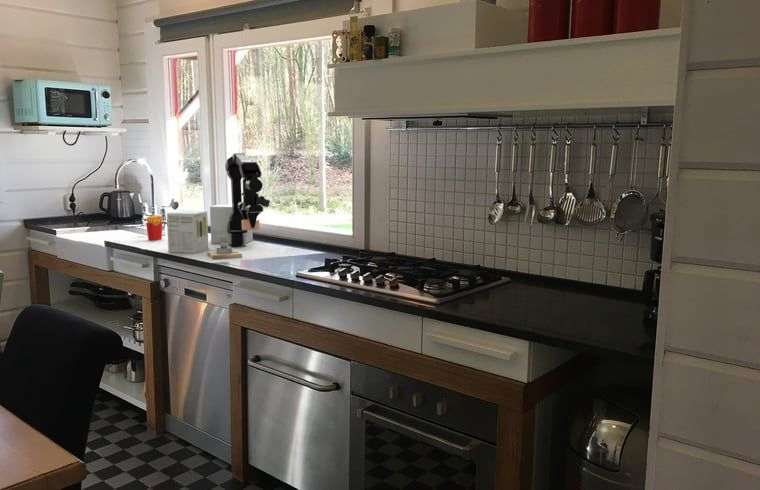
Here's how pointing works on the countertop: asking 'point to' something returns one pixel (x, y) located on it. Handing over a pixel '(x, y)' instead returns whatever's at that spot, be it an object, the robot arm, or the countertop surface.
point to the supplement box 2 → (223, 224)
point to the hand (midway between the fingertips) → (250, 226)
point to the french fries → (154, 227)
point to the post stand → (224, 251)
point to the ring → (247, 225)
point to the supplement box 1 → (187, 231)
